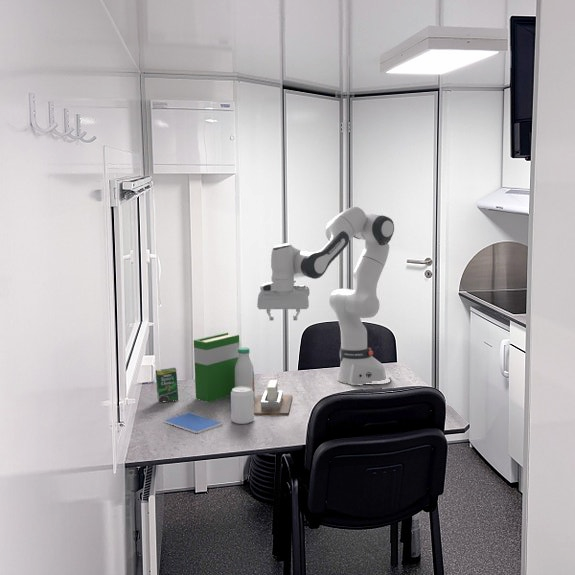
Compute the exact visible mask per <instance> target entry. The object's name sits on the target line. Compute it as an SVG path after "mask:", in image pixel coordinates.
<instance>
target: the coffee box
mask: <svg viewBox="0 0 575 575" xmlns="http://www.w3.org/2000/svg"><path fill="white" fill-rule="evenodd" d="M177 374H178V373H177V369H176V367H170V368H162V369H155V380H156V393H157V395H156V396H157V397H156V398H157V402H158V401H159V402H163V401H171V402H176V401H175V400H178V401H179V390H178V375H177ZM173 400H174V401H173ZM159 402H158V403H159Z"/></svg>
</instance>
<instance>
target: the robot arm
mask: <svg viewBox="0 0 575 575" xmlns="http://www.w3.org/2000/svg"><path fill="white" fill-rule="evenodd" d="M394 232H395V224H394V221H393V220H392V218H390V217H389V216H386V215H383V214H382V215H379V214H373V213H372V214H371V213H370V214H366V213H365V212H364V209H362V208H360V207H359V206H350V207H349V208H347V209H345V210H343V211H342V212H340V213H339V214H337V215H335V217H334V218H332V219H331V220H330V221H329V222H328V223H327V225H326V227H325V236H326V239H327V240H328V243H327V244H325V245H324V247H323V248H321V249H320V250H318V251H314V252H313V251H303V250H301V249H298V248H296V247H294V246H293V245H292V244H291V243H279V244H277V245H275V246H273V248H272V249H271V255H270V256H271V258H270V268H271V272H272V273H271V279H270V281H267V282H264V283H262V284H261V285H260V287H259V288H260V290H259V291H260V292H259V293H258V296H257V301H256V302H257V303H256V305H257V306H256V307H257V308H258V310H265V311H266V313H267V315H268V317H269V321H274V314H273V315H272V313H271V310H295V312H296V314H295V315H293V321H298V316H299V314H300V312H301V310H308V309H309V306H310V301H309V296H310V288H309V287H308V286H306V285H305V284H303V285H296V284H295V275H296V276H301V277H307V278H310V279H313V280H316V279H320V278H321V277H323V276H324V275H325V273H326V271H328V268H329V266H330V264H331V263H332V262H333V261H334V260H335V259H336V258H338V256H340V254H341V253H342V252H343V251H344V250H345V248H346V247H347V246H348V244H349V242H350V241H351V239H353V238H355V239H357V240H363V241H365V244H364V248H363V250H362V252H361V254H360V256H359V258H358V261H357V263H356V265H355V267H354V269H353V271H352V274H353V277H354V279H355V286H354V288H353V289H351V288H347V287H346V288H344V287H343V288H337V289H335V290H333V291H332V292H331V294H330V296H329V306H330V308H331V309H332V311H333V312H334V314H335V316H336V317H337V320H338V325H339V328H340V343H341V344H340V348H339V360H340V366H339V372H338V376H337V381H338V382H340V383H342V382H343V384H346V383H348V385H350V384H351V385H350V386H352V385H358V384H366V383H372V381H381V380H385V379H386V374H387V373H386V370H385V367H384V365H383V363H382V362H380V361H379V360H378V359H376V358H375V357H374V356H373V355H374V351H373V350H372V348H371V347H368V330H367V328H366V326H365V325H364V324H363V322H362V319H368V318H374V317H375V316H376V315H377V314H378V312H379V310H380V301H379V300H380V299H379V298H378V296H377V288H378V287H377V286H378V282H379V279H380V277H381V275H382V272H383V269H384V268H385V265H386V263H387V259H388V257H389V256H388V255H389V253H390V244H389V242H390V241H391V239H392V238H393V235H394Z"/></svg>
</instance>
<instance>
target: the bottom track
mask: <svg viewBox="0 0 575 575" xmlns="http://www.w3.org/2000/svg"><path fill="white" fill-rule="evenodd" d="M283 392H284V391H283V390H278V398H277V401H267V390H264V393H263V394H262V395H263V397H262V400H261V410H280V407H281V403H282V399H283V395H284V394H283Z"/></svg>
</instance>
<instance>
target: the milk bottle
mask: <svg viewBox="0 0 575 575" xmlns="http://www.w3.org/2000/svg"><path fill="white" fill-rule="evenodd" d="M250 352H251V351H250V348H249V347H245V346H244V347H240V348H238V354H239V357H238V360H237V363H236V365H235V387H240V386H246V387H250V388H252V391H253V398H254V397H255V371H254V364H253V362H252V360H251V358H250Z"/></svg>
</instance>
